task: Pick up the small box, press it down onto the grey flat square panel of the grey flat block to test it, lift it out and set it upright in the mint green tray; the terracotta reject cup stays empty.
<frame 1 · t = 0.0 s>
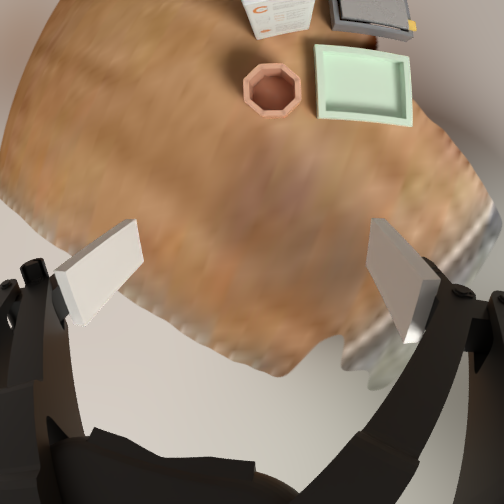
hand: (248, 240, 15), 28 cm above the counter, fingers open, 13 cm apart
small box: (276, 18, 31), on the counter
mint green tray: (362, 86, 34), on the counter
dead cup: (273, 95, 36), on the counter
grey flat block: (366, 4, 27), on the counter
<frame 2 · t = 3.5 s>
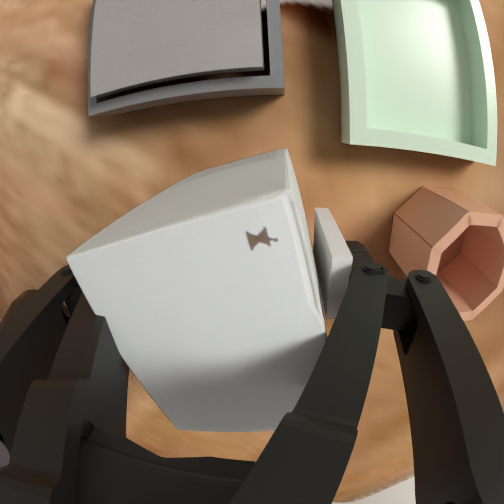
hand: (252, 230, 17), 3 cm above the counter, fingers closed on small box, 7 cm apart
small box: (256, 215, 19), on the counter, touching gripper
grey flat square panel: (169, 4, 11), point 4 cm above the counter, slide at 0.0 cm, touching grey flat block
mint green tray: (414, 53, 13), on the counter
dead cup: (431, 234, 18), on the counter
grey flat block: (188, 22, 14), on the counter
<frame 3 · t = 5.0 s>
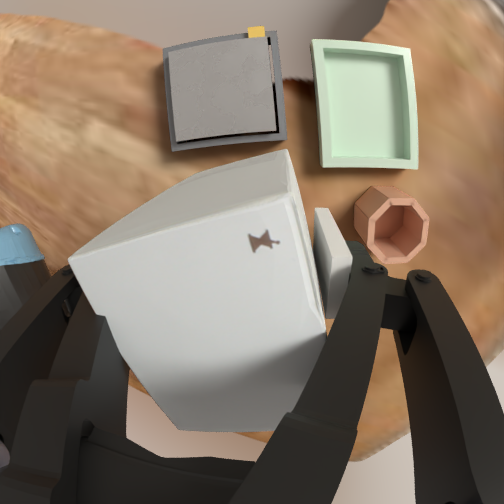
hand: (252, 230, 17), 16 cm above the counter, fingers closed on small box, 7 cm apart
small box: (256, 216, 19), point 13 cm above the counter, touching gripper
grey flat square panel: (220, 87, 24), point 4 cm above the counter, slide at 0.0 cm, touching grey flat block
mint green tray: (364, 104, 26), on the counter
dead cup: (381, 214, 31), on the counter
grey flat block: (227, 91, 28), on the counter
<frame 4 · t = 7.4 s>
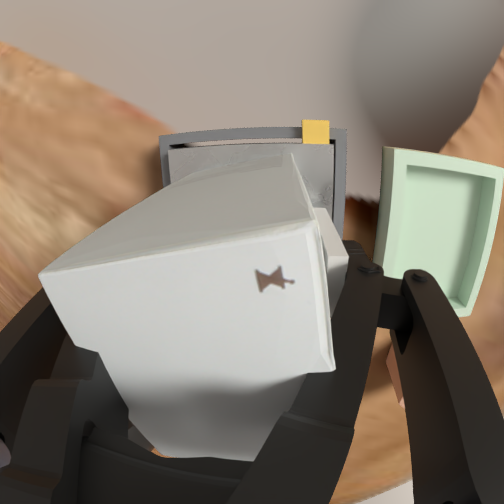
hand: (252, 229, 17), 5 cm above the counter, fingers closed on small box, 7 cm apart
small box: (254, 223, 18), point 4 cm above the counter, touching grey flat square panel, gripper
grey flat square panel: (252, 222, 18), point 4 cm above the counter, slide at 0.0 cm, touching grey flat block, small box
mint green tray: (432, 235, 21), on the counter
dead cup: (416, 349, 26), on the counter
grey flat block: (256, 208, 21), on the counter
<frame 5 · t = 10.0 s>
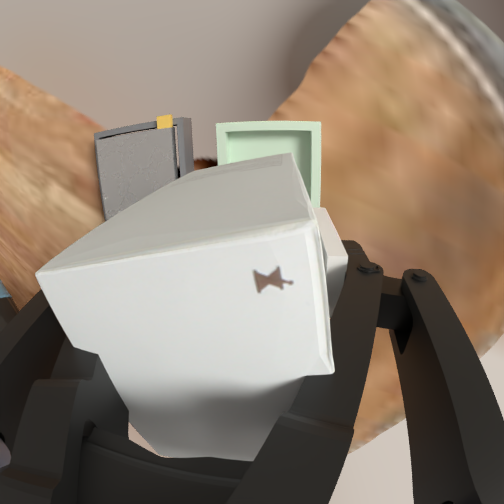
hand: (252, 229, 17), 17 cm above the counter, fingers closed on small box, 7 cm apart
small box: (253, 222, 18), point 16 cm above the counter, touching gripper
grey flat square panel: (136, 175, 30), point 3 cm above the counter, slide at 0.0 cm, touching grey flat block
mint green tray: (270, 181, 32), on the counter
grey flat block: (149, 170, 33), on the counter
when the fingers open (4 cm above the counter, at t = 12.8 s): small box drops 2 cm, resting on mint green tray.
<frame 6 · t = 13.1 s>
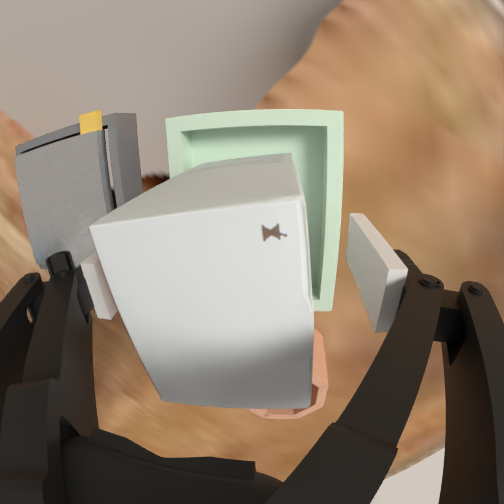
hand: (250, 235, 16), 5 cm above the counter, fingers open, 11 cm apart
small box: (254, 211, 20), resting on mint green tray
grey flat square panel: (61, 205, 18), point 4 cm above the counter, slide at 0.0 cm, touching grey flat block
mint green tray: (258, 209, 21), on the counter
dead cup: (283, 346, 26), on the counter
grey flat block: (86, 194, 21), on the counter
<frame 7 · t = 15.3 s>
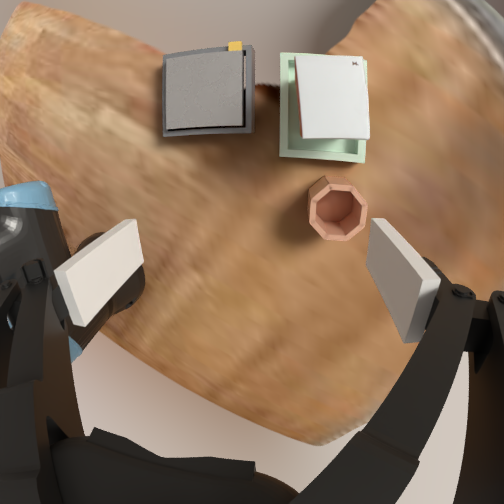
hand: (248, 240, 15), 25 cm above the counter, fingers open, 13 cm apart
small box: (320, 106, 33), resting on mint green tray
grey flat square panel: (203, 89, 31), point 3 cm above the counter, slide at 0.0 cm, touching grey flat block
mint green tray: (322, 107, 33), on the counter
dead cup: (332, 201, 38), on the counter
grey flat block: (211, 92, 34), on the counter
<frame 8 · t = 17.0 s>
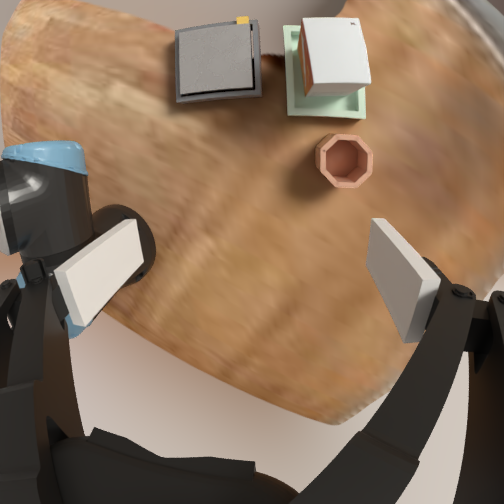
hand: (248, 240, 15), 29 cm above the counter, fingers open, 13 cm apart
small box: (321, 72, 34), resting on mint green tray
grey flat square panel: (215, 57, 32), point 4 cm above the counter, slide at 0.0 cm, touching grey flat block
mint green tray: (323, 72, 34), on the counter
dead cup: (338, 156, 39), on the counter
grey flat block: (220, 63, 35), on the counter
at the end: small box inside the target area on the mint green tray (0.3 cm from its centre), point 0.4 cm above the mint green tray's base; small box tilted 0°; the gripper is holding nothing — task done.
